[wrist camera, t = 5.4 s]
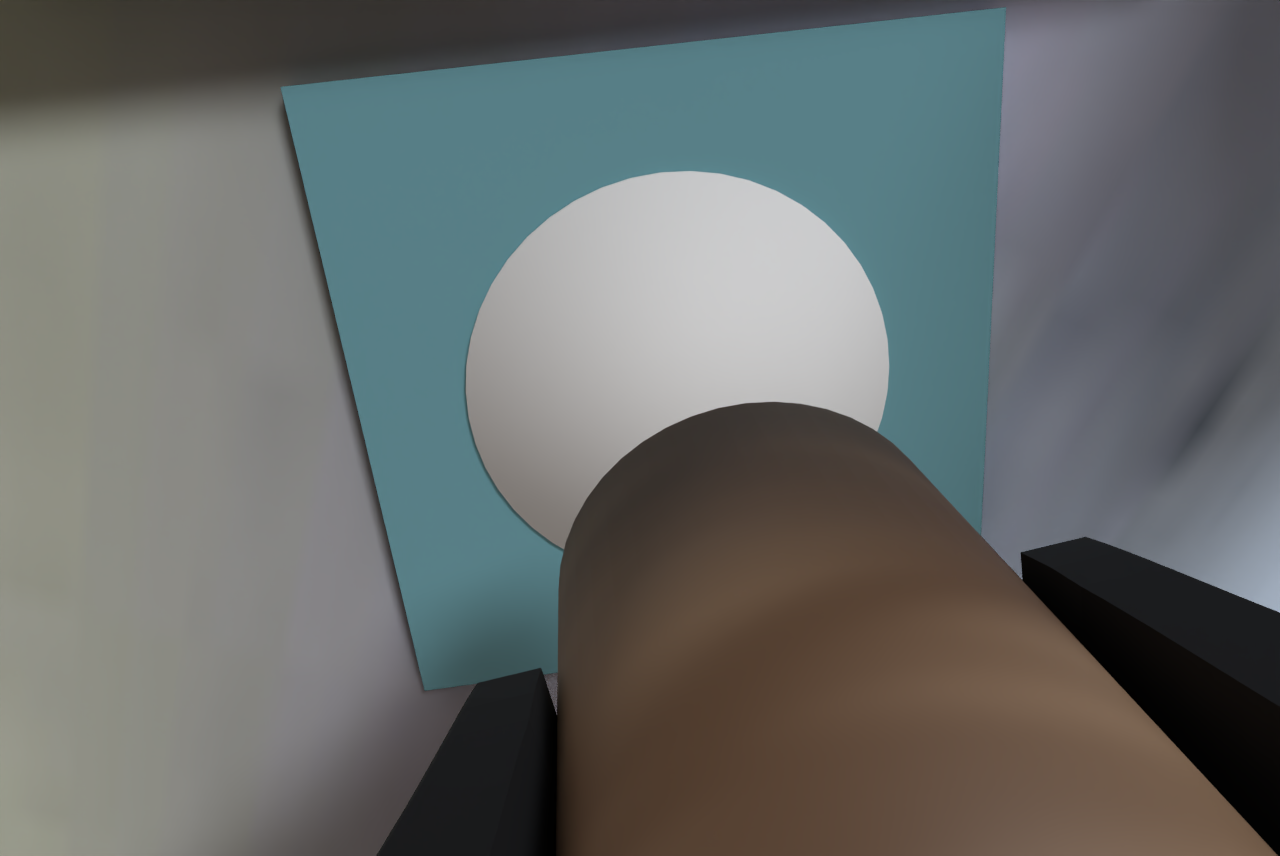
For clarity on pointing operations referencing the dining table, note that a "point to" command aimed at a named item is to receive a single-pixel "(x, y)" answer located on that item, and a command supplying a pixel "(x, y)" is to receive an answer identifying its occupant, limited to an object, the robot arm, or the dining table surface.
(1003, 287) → the dining table surface
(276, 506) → the dining table surface
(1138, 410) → the dining table surface
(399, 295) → the mat
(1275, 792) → the robot arm
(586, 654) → the walnut cylinder
